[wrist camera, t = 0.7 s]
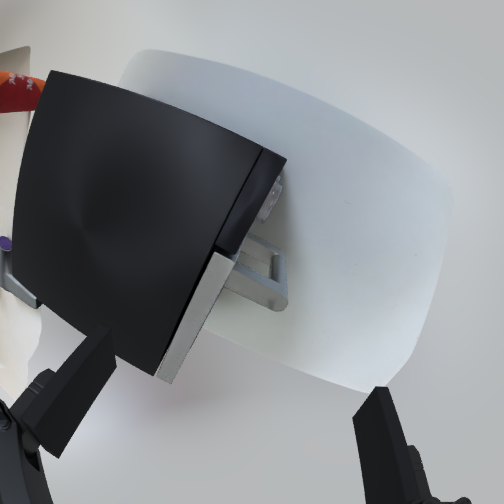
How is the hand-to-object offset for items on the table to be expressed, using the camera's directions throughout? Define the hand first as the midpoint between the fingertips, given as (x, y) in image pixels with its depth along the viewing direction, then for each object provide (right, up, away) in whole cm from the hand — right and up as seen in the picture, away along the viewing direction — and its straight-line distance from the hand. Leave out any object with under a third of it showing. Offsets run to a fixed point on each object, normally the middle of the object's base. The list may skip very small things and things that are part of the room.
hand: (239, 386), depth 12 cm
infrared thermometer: (-50, +2, +32) cm, 59 cm away
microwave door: (0, +5, +26) cm, 26 cm away
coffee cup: (-38, +35, +19) cm, 55 cm away
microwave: (-10, +14, +24) cm, 29 cm away
